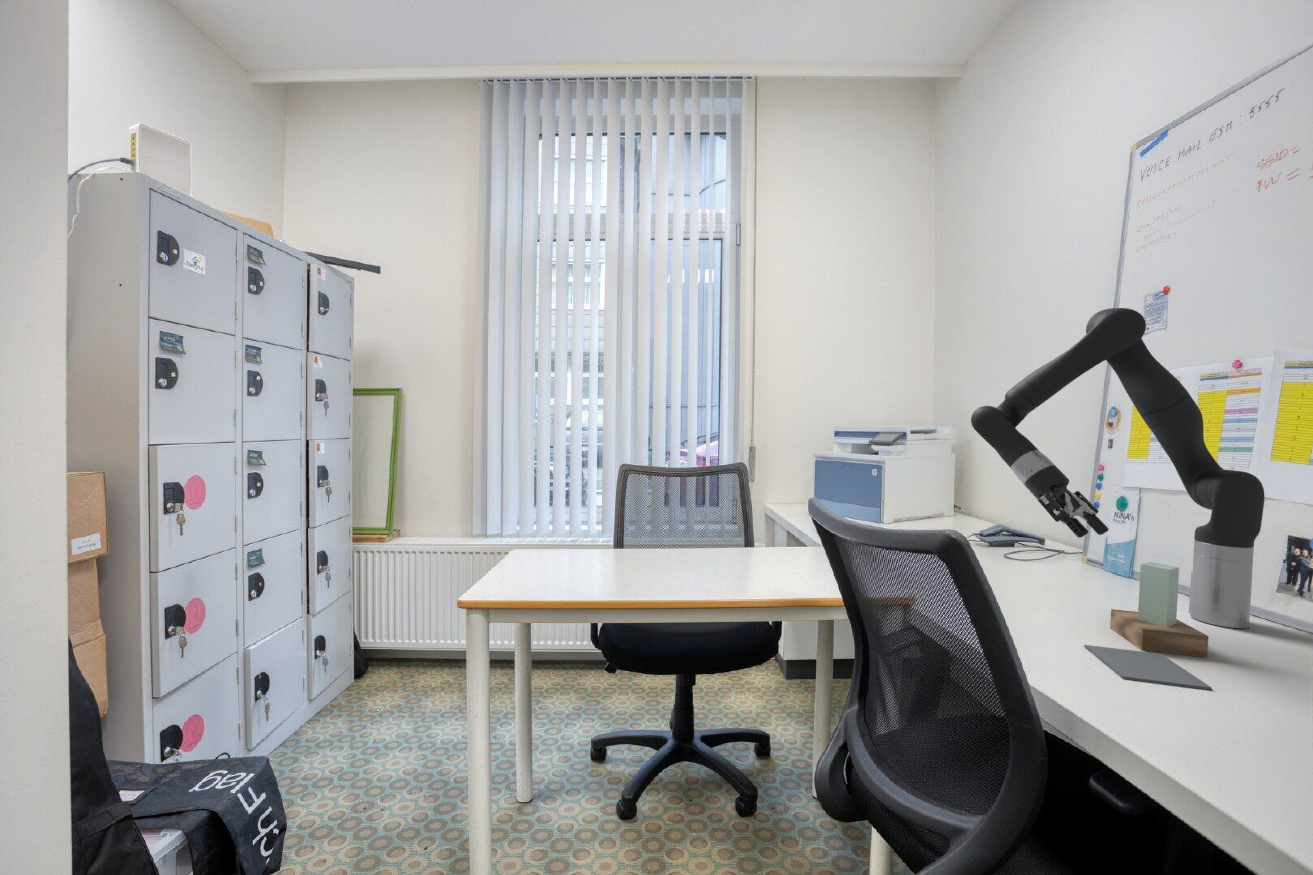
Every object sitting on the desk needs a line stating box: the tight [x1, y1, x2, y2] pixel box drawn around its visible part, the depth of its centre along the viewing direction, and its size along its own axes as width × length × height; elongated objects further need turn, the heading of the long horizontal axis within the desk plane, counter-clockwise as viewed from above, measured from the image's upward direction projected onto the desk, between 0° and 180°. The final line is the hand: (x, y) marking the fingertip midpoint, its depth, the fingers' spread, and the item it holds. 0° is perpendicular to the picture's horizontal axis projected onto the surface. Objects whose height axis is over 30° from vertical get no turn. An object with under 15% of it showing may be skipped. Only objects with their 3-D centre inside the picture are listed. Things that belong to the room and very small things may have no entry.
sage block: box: [1137, 562, 1180, 627], centre depth 111 cm, size 4×4×11 cm
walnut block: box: [1109, 608, 1209, 659], centre depth 111 cm, size 12×10×4 cm
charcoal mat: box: [1083, 644, 1213, 691], centre depth 99 cm, size 14×12×1 cm
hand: (1094, 534), depth 120 cm, fingers open, 8 cm apart
